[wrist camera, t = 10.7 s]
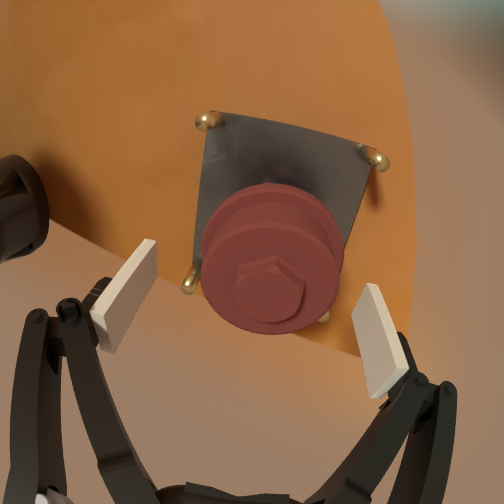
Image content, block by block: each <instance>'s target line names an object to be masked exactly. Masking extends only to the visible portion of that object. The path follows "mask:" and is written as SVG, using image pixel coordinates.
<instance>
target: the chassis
mask: <svg viewBox="0 0 504 504" xmlns="http://www.w3.org/2000/svg"><path fill="white" fill-rule="evenodd" d="M195 125H196V127H197V129H199V130H200V131H207V135H206V142H205V149H204V156H203V164H202V172H201V180H200V188H199V197H198V206H197V216H196V226H195V237H194V249H193V262H192V266H191V268H190V270H189V272H188V274H187V276H186V278H185V280H184V281H183V283H182V285H181V290H182V292H183V293H185V294H187V295H191V294H193V293H194V291H195V289H196V287H197V284H198V282H199V280H200V278H201V267H202V263H203V262H202V256H201V242H202V236H203V233H204V230H205V227H206V225H207V224H208V222H209V220H210V218H211V217H212V215H213V214H214V212H215V211H216V209H217V208H218V207H219V206H220V205H221V204H222V202H223V201H224V200H226V199H227V198H228V197H230V196H231V195H232V194H234V193H236V192H238V191H240V190H242V189H245V188H247V187H250V186H254V185H259V184H263V183H265V182H270V183H275V184H285V185H289V186H293V187H296V188H299V189H301V190H304V191H306V192H308V193H309V194H311V195H313V196H314V197H316V198H317V199H318V200H319V201H321V202H322V203H323V204H324V205H325V206H326V207H327V208H328V210H329V211H330V212H331V214H332V215H333V217H334V219H335V221H336V223H337V225H338V228H339V230H340V233H341V236H342V240H343V245H344V247H345V244H346V241H347V238H348V236H349V233H350V230H351V227H352V225H353V222H354V219H355V216H356V213H357V210H358V207H359V204H360V201H361V198H362V195H363V192H364V189H365V186H366V183H367V180H368V176H369V173H370V170H371V167H373V168H374V169H375V170H376V171H378V172H385V171H387V170H388V168H389V166H390V162H389V159H388V158H387V157H386V156H385V155H383V154H381V153H380V152H378V151H376V149H375V148H372V147H369V146H366V145H363V144H360V143H356V142H353V141H350V140H347V139H343V138H340V137H337V136H333V135H330V134H326V133H322V132H318V131H315V130H311V129H307V128H303V127H298V126H294V125H290V124H285V123H280V122H276V121H271V120H266V119H260V118H255V117H249V116H243V115H237V114H231V113H224V112H216V111H210V113H203V114H200V115H199V116H198V117H197V118H196V120H195ZM329 318H330V315H329V310H328V311H327V312H326V313H325V315H324V316H322V317H321V318H320V319H319V320H318V322H326V321H328V320H329Z"/></svg>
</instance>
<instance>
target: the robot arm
mask: <svg viewBox="0 0 504 504" xmlns="http://www.w3.org/2000/svg"><path fill="white" fill-rule="evenodd" d="M48 229H49V212H48V206H47V201H46V197H45V193H44V190H43V187H42V185H41V182H40V180H39V178H38V176H37V174H36V173H35V171H34V169H33V168H32V167H31V165H30V164H29V163H28V162H27V161H26V160H25V159H23V158H22V157H20V156H18V155H8V156H6V157H3V158H1V159H0V264H2V263H4V262H7V261H10V260H13V259H16V258H19V257H23V256H25V255H29V254H31V253H32V252H34V251H35V250H36V249H37V248H39V247H40V246H41V245H42V244H43V243H44V241H45V240H46V237H47V234H48ZM156 278H157V241H154V240H149V239H144V241H143V242H142V243H141V244H140V245H139V247H138V248H137V249H136V250H135V252H134V253H133V254H132V255H131V256H130V258H129V259H128V260H127V261H126V263H125V264H124V265H123V267H122V268H121V269H120V271H119V272H118V273H117V274H116V276H115V277H114V278H113V279H112V278H109V277H104V278H103V279H101V280H99V281H98V282H97V283H96V285H95V286H94V287H93V289H92V290H91V291H90V292H89V294H88V295H87V296H86V297H85V299H84V300H83V301H82V303H80V301H79V300H78V299H76V298H66V299H63V300H62V301H60V302H59V303H58V305H57V307H56V312H57V315H58V317H49V316H48V313H47V311H46V310H44V309H40V308H38V309H34V310H32V311H31V312H30V313H29V314H28V315H27V317H26V321H25V325H24V329H23V333H22V337H21V342H20V347H19V352H18V357H17V363H16V369H15V376H14V383H13V391H12V402H11V416H10V462H11V467H10V471H9V475H8V480H7V484H6V489H5V494H4V499H3V504H74V503H73V502H72V501H71V500H70V499H69V498H68V497H67V484H66V474H65V466H64V458H63V448H62V436H61V408H60V407H61V406H60V404H61V403H60V402H61V396H60V395H61V394H60V393H61V369H62V356H64V357H67V362H68V368H69V372H70V377H71V381H72V385H73V389H74V392H75V396H76V399H77V403H78V406H79V410H80V413H81V416H82V419H83V422H84V425H85V428H86V431H87V434H88V437H89V440H90V442H91V445H92V447H93V450H94V452H95V455H96V457H97V460H98V464H97V465H98V469H99V471H100V474H101V476H102V478H103V480H104V483H105V485H106V487H107V489H108V491H109V493H110V494H111V497H112V498H113V500H114V502H115V504H370V503H371V501H372V498H371V494H372V492H373V491H374V490H375V488H376V487H377V485H378V484H379V482H380V481H381V479H382V477H383V476H384V475H385V473H386V471H387V470H388V468H389V467H390V465H391V463H392V462H393V460H394V458H395V457H396V455H397V453H398V451H399V450H400V448H401V446H402V444H403V442H404V440H405V439H406V437H407V435H408V433H409V435H408V439H407V443H406V447H405V451H404V454H403V458H402V461H401V465H400V468H399V471H398V474H397V477H396V480H395V483H394V486H393V489H392V492H391V495H390V497H389V500H388V503H387V504H442V501H443V497H444V493H445V489H446V484H447V480H448V475H449V470H450V464H451V458H452V451H453V444H454V436H455V425H456V411H457V390H456V388H455V386H454V385H453V384H452V383H451V382H449V381H443V382H442V383H441V384H440V385H439V386H438V385H434V384H431V383H429V380H428V378H427V377H426V376H425V375H424V374H423V373H421V372H418V370H417V367H416V364H415V361H414V358H413V356H412V353H411V350H410V347H409V345H408V342H407V339H406V338H405V336H404V335H403V334H402V333H401V332H396V329H395V327H394V324H393V322H392V319H391V317H390V314H389V312H388V309H387V307H386V304H385V302H384V299H383V297H382V295H381V292H380V290H379V287H378V285H376V284H371V283H367V284H366V286H365V288H364V290H363V292H362V294H361V296H360V298H359V300H358V302H357V304H356V306H355V308H354V310H353V312H352V314H351V317H352V321H353V325H354V329H355V333H356V337H357V341H358V345H359V350H360V354H361V359H362V363H363V368H364V373H365V377H366V382H367V387H368V393H369V398H371V399H377V398H382V397H383V396H384V395H385V394H386V393H388V397H389V398H388V399H387V400H386V401H385V402H384V403H383V404H382V405H381V406H380V407H379V409H380V411H379V413H378V414H377V416H376V417H375V419H374V420H373V422H372V423H371V425H370V426H369V428H368V429H367V430H366V432H365V433H364V435H363V436H362V437H361V439H360V440H359V442H358V443H357V444H356V446H355V447H354V448H353V450H352V451H351V452H350V454H349V455H348V456H347V457H346V459H345V460H344V461H343V462H342V464H341V465H340V466H339V467H338V468H337V470H336V471H335V472H334V473H333V474H332V476H331V477H330V478H329V479H328V480H327V481H326V482H325V483H324V485H323V486H322V487H321V488H320V489H319V490H318V491H317V492H316V493H314V494H313V495H312V496H311V497H309V498H308V499H307V500H306V501H305V502H304V503H300V502H298V501H296V500H294V499H290V498H289V496H290V495H288V494H266V493H265V494H258V495H250V496H241V497H238V496H234V495H231V494H229V493H226V492H223V491H220V490H218V489H215V488H213V487H209V486H204V485H198V484H194V483H189V482H186V485H174V486H169V487H165V488H162V489H160V490H157V488H156V486H155V485H154V483H153V481H152V480H151V478H150V477H149V475H148V473H147V471H146V470H145V468H144V466H143V465H142V463H141V461H140V459H139V457H138V455H137V453H136V451H135V449H134V447H133V445H132V443H131V441H130V439H129V437H128V434H127V432H126V430H125V428H124V426H123V423H122V421H121V419H120V416H119V414H118V412H117V409H116V407H115V404H114V401H113V399H112V396H111V394H110V391H109V388H108V385H107V383H106V380H105V377H104V374H103V371H102V368H101V365H100V362H99V358H98V355H97V351H96V349H95V348H96V347H97V345H98V343H99V345H100V348H101V350H104V351H106V352H109V353H112V354H114V353H115V351H116V349H117V347H118V345H119V344H120V342H121V340H122V338H123V336H124V334H125V332H126V330H127V329H128V327H129V325H130V323H131V322H132V320H133V318H134V316H135V314H136V312H137V311H138V309H139V307H140V305H141V304H142V302H143V300H144V299H145V297H146V295H147V293H148V291H149V290H150V288H151V287H152V285H153V283H154V282H155V280H156Z"/></svg>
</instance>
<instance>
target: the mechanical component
mask: <svg viewBox="0 0 504 504" xmlns="http://www.w3.org/2000/svg"><path fill="white" fill-rule="evenodd" d="M201 256H202V262H203V263H202V267H201V285H202V289H203V292H204V295H205V297H206V299H207V301H208V302H209V304H210V305H211V307H212V308H213V309H214V310H215V311H216V312H217V313H218V314H219V315H220V316H221V317H222V318H223V319H225V320H226V321H227V322H229V323H231V324H233V325H234V326H236V327H238V328H241V329H244V330H246V331H250V332H253V333H258V334H266V335H267V334H268V335H279V334H287V333H292V332H295V331H299V330H302V329H304V328H306V327H308V326H310V325H312V324H313V323H315V322H316V321H318V320H319V319H320V318H321V317H322V316H324V315H325V313H326V312H327V311H328V310H329V309H330V307H331V306H332V304H333V302H334V300H335V298H336V295H337V293H338V287H339V274H340V272H341V269H342V265H343V260H344V245H343V240H342V236H341V233H340V230H339V228H338V225H337V223H336V221H335V219H334V217H333V215H332V214H331V212H330V211H329V210H328V208H327V207H326V206H325V205H324V204H323V203H322V202H321V201H319V200H318V199H317V198H316V197H314V196H313V195H311V194H309V193H308V192H306V191H304V190H301V189H299V188H296V187H293V186H289V185H285V184H275V183H270V182H265V183H263V184H259V185H254V186H250V187H247V188H245V189H242V190H240V191H238V192H236V193H234V194H232V195H231V196H230V197H228V198H227V199H226V200H224V201H223V202H222V204H221V205H220V206H219V207H218V208H217V209H216V211H215V212H214V214H213V215H212V217H211V218H210V220H209V222H208V224H207V225H206V227H205V230H204V233H203V236H202V242H201Z"/></svg>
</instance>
